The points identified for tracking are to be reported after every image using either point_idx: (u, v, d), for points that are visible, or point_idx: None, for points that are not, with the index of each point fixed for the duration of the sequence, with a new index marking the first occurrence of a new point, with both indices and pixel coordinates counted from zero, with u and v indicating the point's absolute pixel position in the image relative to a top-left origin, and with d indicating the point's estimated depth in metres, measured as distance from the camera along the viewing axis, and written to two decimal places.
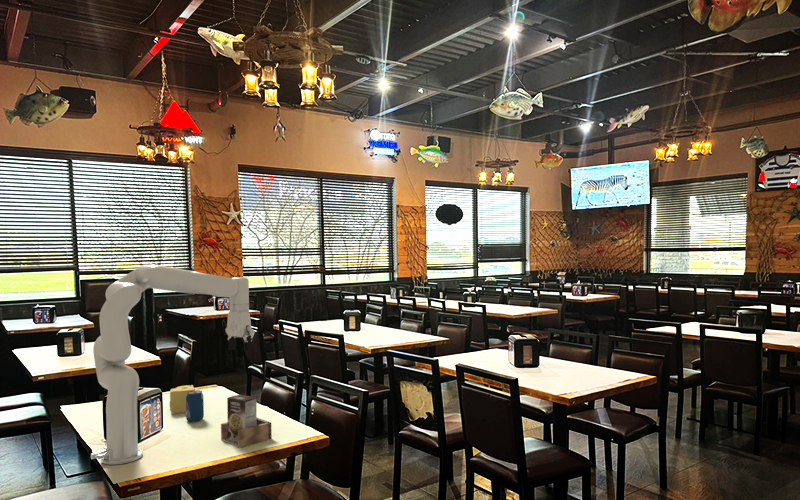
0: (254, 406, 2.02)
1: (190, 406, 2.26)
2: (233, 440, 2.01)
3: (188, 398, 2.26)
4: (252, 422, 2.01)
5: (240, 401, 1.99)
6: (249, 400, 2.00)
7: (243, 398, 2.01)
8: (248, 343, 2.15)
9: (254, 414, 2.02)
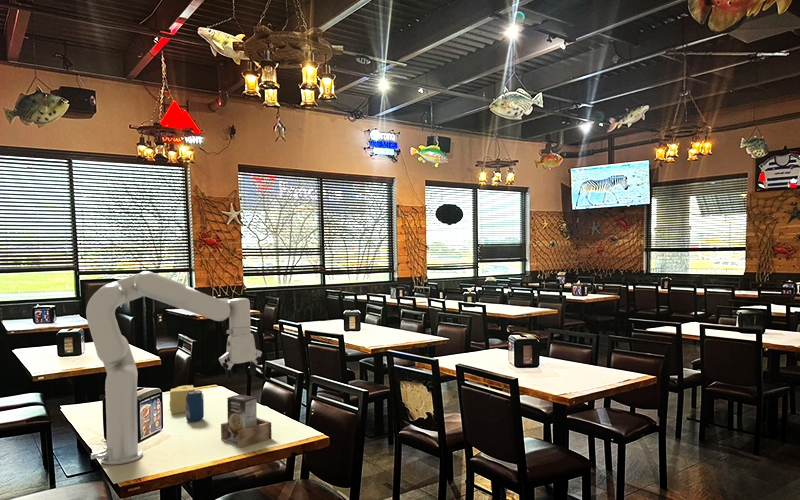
0: (254, 406, 2.02)
1: (190, 406, 2.26)
2: (233, 440, 2.01)
3: (188, 398, 2.26)
4: (252, 422, 2.01)
5: (241, 401, 1.99)
6: (249, 400, 2.00)
7: (243, 398, 2.01)
8: None
9: (254, 414, 2.03)
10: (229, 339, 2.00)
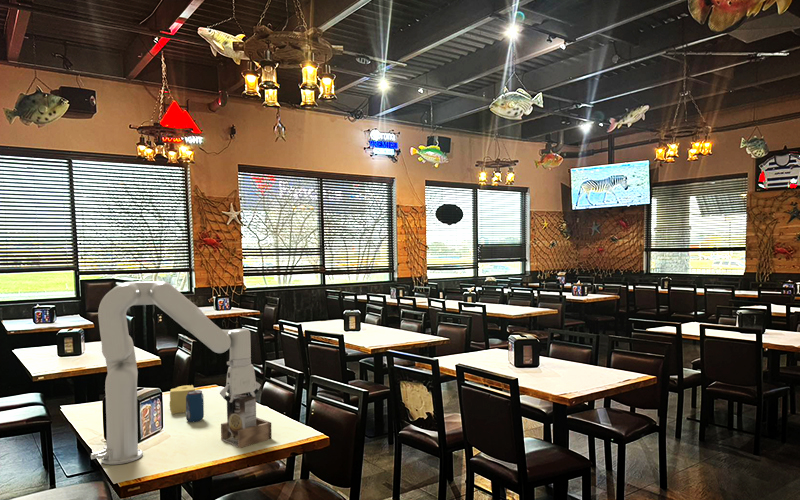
0: (253, 406, 2.02)
1: (190, 406, 2.26)
2: (233, 440, 2.01)
3: (188, 398, 2.26)
4: (251, 422, 2.01)
5: (240, 401, 1.99)
6: (248, 400, 2.00)
7: (242, 398, 2.01)
8: None
9: (254, 414, 2.02)
10: (229, 370, 2.00)
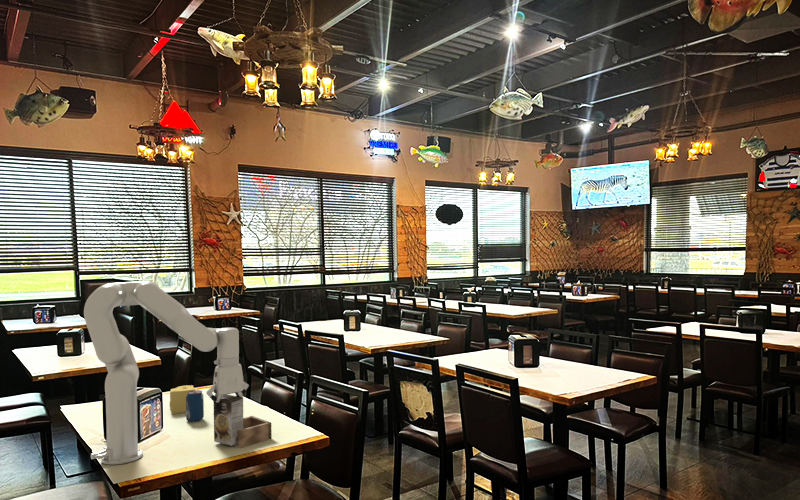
0: (240, 407, 1.99)
1: (190, 406, 2.26)
2: (219, 441, 1.97)
3: (188, 398, 2.26)
4: (238, 423, 1.98)
5: (226, 401, 1.95)
6: (235, 400, 1.97)
7: (229, 398, 1.97)
8: None
9: (241, 414, 1.99)
10: (216, 370, 1.96)
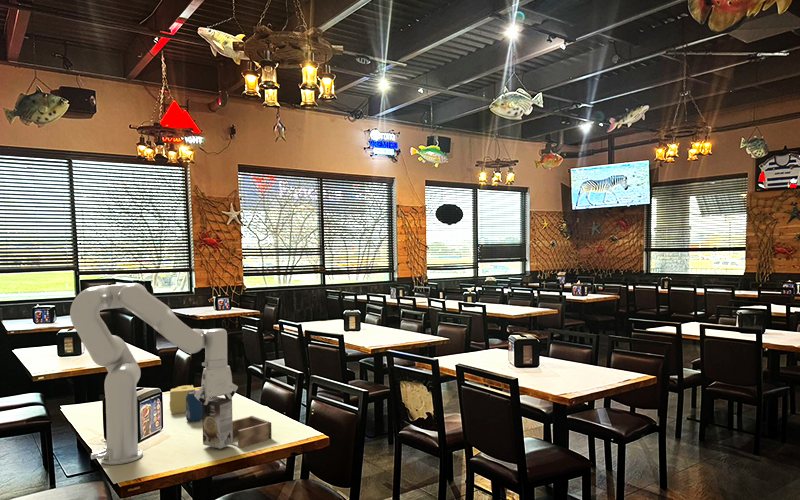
0: (229, 409, 1.95)
1: (190, 406, 2.26)
2: (208, 444, 1.94)
3: (188, 398, 2.26)
4: (227, 426, 1.94)
5: (215, 404, 1.92)
6: (224, 403, 1.93)
7: (218, 400, 1.94)
8: None
9: (230, 417, 1.95)
10: (204, 372, 1.93)
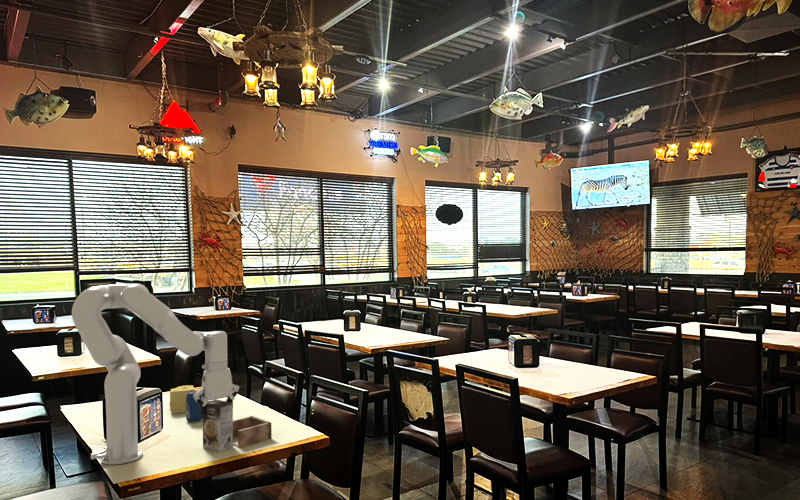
0: (230, 412, 1.95)
1: (190, 406, 2.26)
2: (208, 447, 1.94)
3: (188, 398, 2.26)
4: (227, 429, 1.94)
5: (215, 406, 1.92)
6: (225, 405, 1.93)
7: (218, 403, 1.94)
8: None
9: (230, 420, 1.96)
10: (204, 374, 1.93)
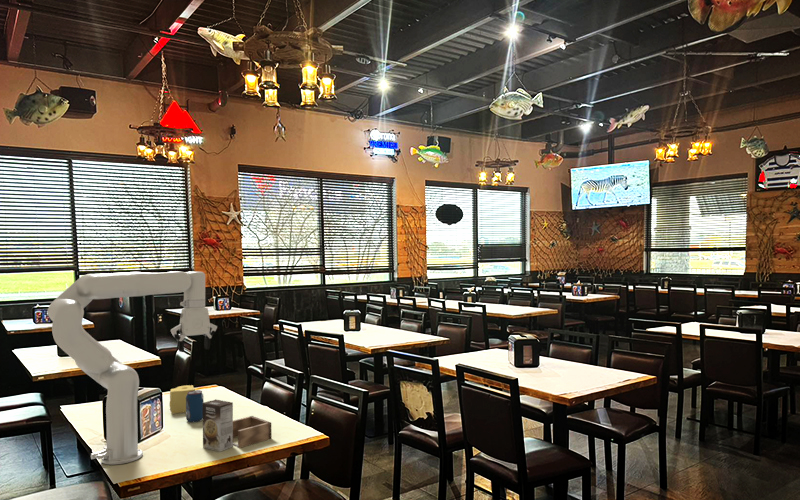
0: (230, 412, 1.95)
1: (190, 406, 2.26)
2: (208, 447, 1.94)
3: (188, 398, 2.26)
4: (227, 429, 1.94)
5: (215, 406, 1.92)
6: (225, 405, 1.93)
7: (218, 403, 1.94)
8: None
9: (230, 420, 1.96)
10: (182, 311, 2.01)
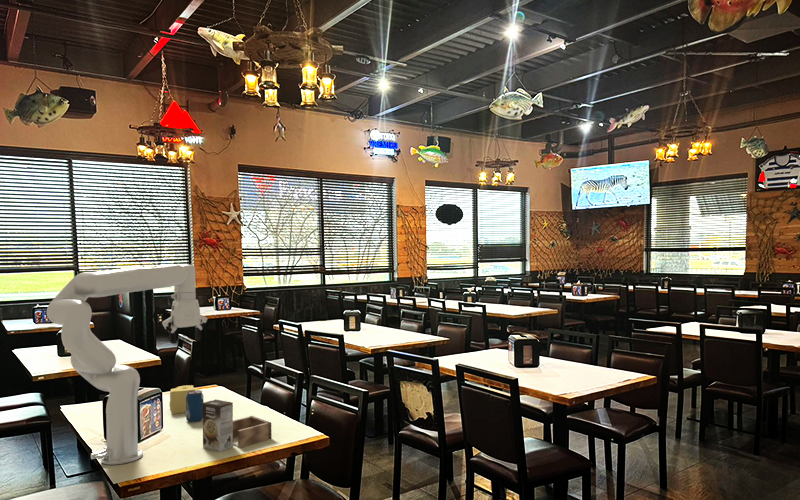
0: (230, 412, 1.95)
1: (190, 406, 2.26)
2: (208, 447, 1.94)
3: (188, 398, 2.26)
4: (227, 429, 1.94)
5: (215, 406, 1.92)
6: (224, 405, 1.93)
7: (218, 403, 1.94)
8: None
9: (230, 420, 1.96)
10: (173, 304, 2.05)
